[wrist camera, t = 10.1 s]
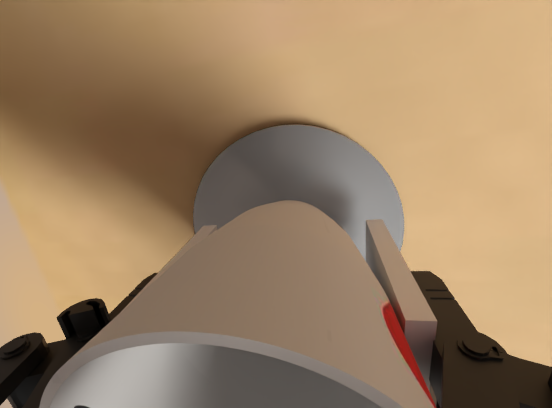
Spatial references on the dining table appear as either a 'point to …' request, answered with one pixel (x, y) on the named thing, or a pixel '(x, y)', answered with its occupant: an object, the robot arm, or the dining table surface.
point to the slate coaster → (300, 180)
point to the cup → (253, 328)
